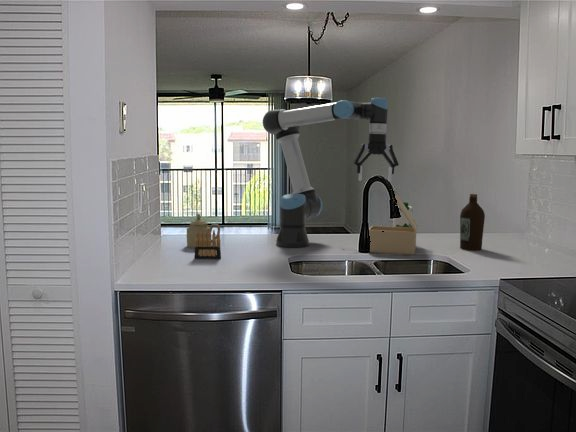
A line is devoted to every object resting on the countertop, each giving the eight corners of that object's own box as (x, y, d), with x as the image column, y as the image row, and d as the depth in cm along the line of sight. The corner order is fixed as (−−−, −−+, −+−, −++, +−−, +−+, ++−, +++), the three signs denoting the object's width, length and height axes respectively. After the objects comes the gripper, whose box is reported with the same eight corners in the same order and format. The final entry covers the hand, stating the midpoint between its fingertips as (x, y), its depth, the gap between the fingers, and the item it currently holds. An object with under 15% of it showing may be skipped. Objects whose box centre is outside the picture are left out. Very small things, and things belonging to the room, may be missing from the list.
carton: (367, 252, 250) (368, 229, 249) (371, 247, 262) (371, 225, 261) (414, 255, 245) (414, 232, 243) (415, 249, 257) (416, 227, 256)
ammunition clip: (194, 259, 233) (193, 229, 231) (195, 258, 235) (194, 229, 233) (220, 259, 233) (220, 230, 231) (221, 258, 235) (220, 229, 233)
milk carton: (393, 245, 267) (394, 203, 264) (391, 242, 276) (393, 201, 273) (412, 246, 266) (414, 203, 263) (410, 242, 275) (411, 201, 272)
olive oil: (473, 246, 268) (475, 192, 264) (488, 250, 258) (491, 195, 254) (453, 247, 264) (456, 193, 261) (468, 251, 254) (471, 195, 251)
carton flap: (388, 191, 244) (390, 190, 244) (391, 189, 257) (393, 188, 257) (414, 231, 243) (416, 230, 243) (416, 226, 256) (418, 225, 256)
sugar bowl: (218, 243, 268) (218, 211, 266) (220, 248, 257) (220, 214, 255) (186, 244, 265) (186, 212, 263) (187, 248, 254) (186, 215, 253)
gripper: (351, 132, 249) (349, 181, 252) (407, 134, 251) (404, 182, 254) (348, 132, 256) (345, 179, 259) (402, 134, 259) (399, 181, 262)
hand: (374, 181), depth 257 cm, fingers open, 13 cm apart
